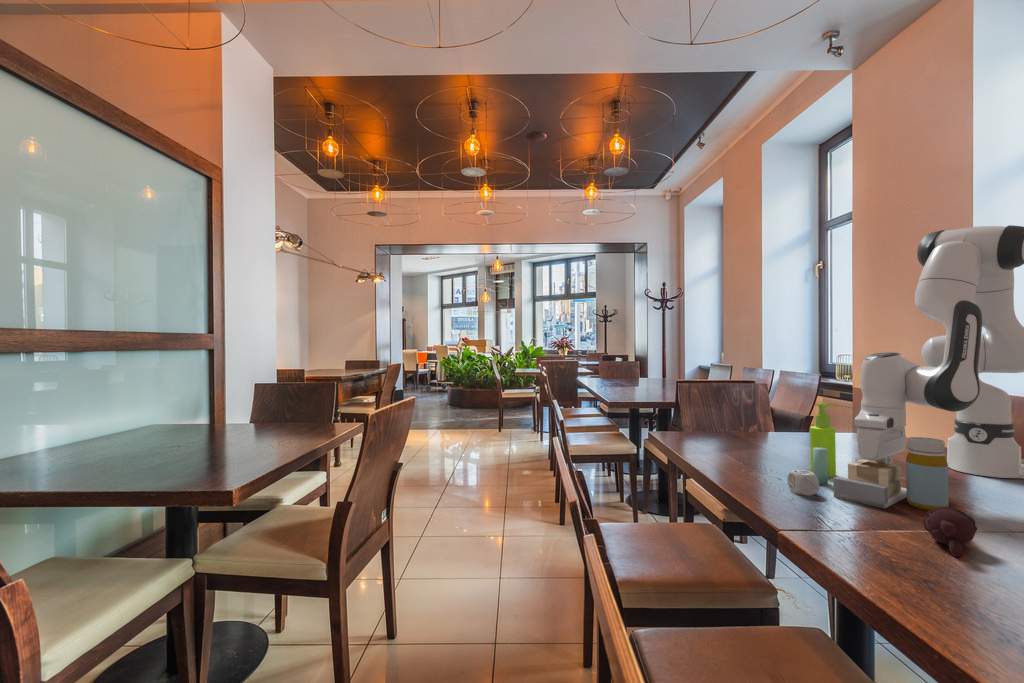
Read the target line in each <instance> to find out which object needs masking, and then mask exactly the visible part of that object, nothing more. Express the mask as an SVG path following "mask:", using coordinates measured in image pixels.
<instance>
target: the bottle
mask: <svg viewBox="0 0 1024 683" xmlns="http://www.w3.org/2000/svg"><path fill="white" fill-rule="evenodd" d="M907 447H908V453H907V455H906V458H905V472H906V474H905V475H906V477H905V478H906V481H905V482H906V488H907V497H906V501H907V502H908V504H909V505H910V506H911V507H913V508H916V509H920V510H922V511H923V510H924V511H927V512H928V511H929V510H931V509H936V508H939V507H940V506H945V507H948V508H949V467H948V463H947V457H945V456H946V453H945V451H946V444H945V441H944V440H942V439H939V438H931V437H921V436H911V437H908V438H907Z"/></svg>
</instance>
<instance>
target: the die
mask: <svg viewBox="0 0 1024 683" xmlns="http://www.w3.org/2000/svg"><path fill="white" fill-rule="evenodd" d="M786 479H787V485H788V488H789V490H790V491H791V492H792V493H794V494H797V495H801V496H806V497H807V496H815V495H816V494H817V493H818V491H819V489H820V484H819V481H818V478H817V476H816V475H815V474H814V473H813V472H811V470H810V471H809V470H804V469H793V470H791V471H790V472H789V473H788V474H787V478H786Z"/></svg>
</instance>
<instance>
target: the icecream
mask: <svg viewBox="0 0 1024 683" xmlns="http://www.w3.org/2000/svg"><path fill="white" fill-rule="evenodd" d="M921 522H922V524H923V526H924V528H923V529H924V530H926V531H927V532H928V533H929V535H931V538H932V539H933V540H935V541H936V542H938V543H942V544H943V545H946V546H947V547H948V548H949V551H950V552H949V553H951V556H953V557H954V558H960V557H961V556H963V552H964V548H963V547H964V546H965V545H967V544H969V543H970V542H971V541H973V540H974V538H975V534H976V532H977V531H978V527H977V525H976V520H975V519H974V518H973V517H971V515H968V514H967V513H965V512H964V511H962V510H960V509H958V508H955V507H954V508H951V507H949V506H948V507H945V506H940V507H939V508H936V509H931V510H929V511H928V510H927V512H926V514H925V515H924V517H923V518H922V520H921Z"/></svg>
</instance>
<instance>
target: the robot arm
mask: <svg viewBox="0 0 1024 683" xmlns="http://www.w3.org/2000/svg"><path fill="white" fill-rule="evenodd" d="M916 255H917V260H918V263H919V264H920V265H921V266H922V267H923V268H922V270H921V273H920V275H919V278H918V283H917V285H916V289H915V292H914V305H915V307H916V309H917V310H918V311H919V312H920V313H921V314H923V315H924V316H925V317H927V318H929V319H932V320H934V321H936V322H939V323H940V324H942V325H943V327H944V328H945V335H939V336H933V337H930V338H929V339H927V340H926V341H925V343H924V344H923V345H922V348H921V358H922V361H923V362H924V364H925V365H926V366H925V365H920V364H917V363H915V362H912V361H911V360H908V359H907V358H905V357H903V356H902V355H901V353H898V352H894V351H893V352H878V353H873V354H870V355H867V356H866V357H865V358H864V359H863V360H862V363H861V367H860V390H861V393H862V399H861V401H860V411H859V413H858V414H857V416H856V417H855V418H854V426H855V427H857V431H856V438H857V450H858V451H857V452H858V455H859V456H860V458H861V459H863V460H870V461H876V462H882V463H888V464H892V462H893V455H896V454H899V453H901V452H905V451H906V449H907V437H906V435H907V434H906V428H905V427H907V415H906V414H907V411H906V410H907V409H906V407H907V406H906V403H907V404H912V405H913V404H914V405H918V406H925V407H929V408H930V407H931V408H936V409H939V410H944V411H947V412H952V413H954V412H956V414H955V416H956V419H954V423H953V427H954V432H955V433H954V435H951V436H950V437H948V438H947V450H946V451H947V454H946V455H947V456H946V460H947V463H948V469H951V470H953V471H957V472H961V473H965V474H970V475H977V476H983V477H989V478H990V477H991V478H999V479H1001V478H1003V479H1023V480H1024V458H1022V446H1020V444H1018V443H1017V441H1016V440H1015V439H1014V438H1015V436H1016V435H1015V433H1016V431H1015V426H1014V424H1013V423H1012V398H1011V396H1010V395H1009V394H1008V392H1006V391H1005V390H1004V389H1002V388H1000V387H997V386H994V385H992V384H989V383H986V382H984V381H982V380H981V379H980V376H979V374H983V373H986V374H987V373H991V374H993V373H995V374H996V373H997V374H999V373H1000V374H1020V373H1024V325H1022V323H1020V321H1019V319H1018V318H1017V315H1016V313H1015V312H1016V311H1015V306H1014V305H1015V303H1014V301H1015V300H1014V297H1015V295H1014V293H1015V292H1014V290H1015V272H1014V269H1015V268H1018V267H1022V266H1024V226H1023V225H1012V224H1011V225H1006V226H1000V225H998V226H997V225H994V226H993V225H992V226H991V225H987V226H984V225H982V226H973V227H963V228H956V229H949V230H943V229H941V230H937V231H933V232H929V233H928V234H926V235H925V236H923V238H922V239H921V240H920V241H919V244H918V246H917V254H916ZM983 328H984V329H985V332H984V333H982V330H983Z"/></svg>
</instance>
